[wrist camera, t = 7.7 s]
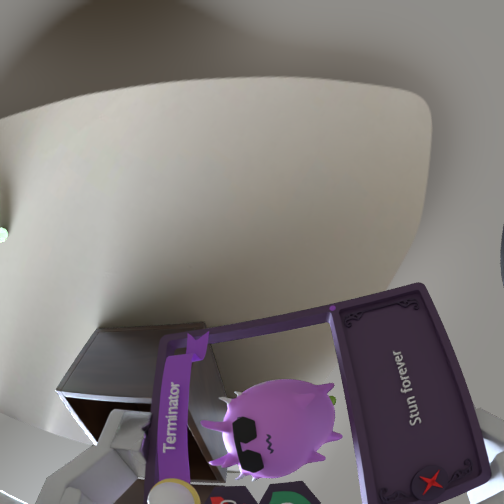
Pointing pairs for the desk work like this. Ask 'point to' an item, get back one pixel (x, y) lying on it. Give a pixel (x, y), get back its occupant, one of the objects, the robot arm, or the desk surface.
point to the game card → (331, 409)
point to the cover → (134, 495)
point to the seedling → (3, 234)
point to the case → (145, 389)
